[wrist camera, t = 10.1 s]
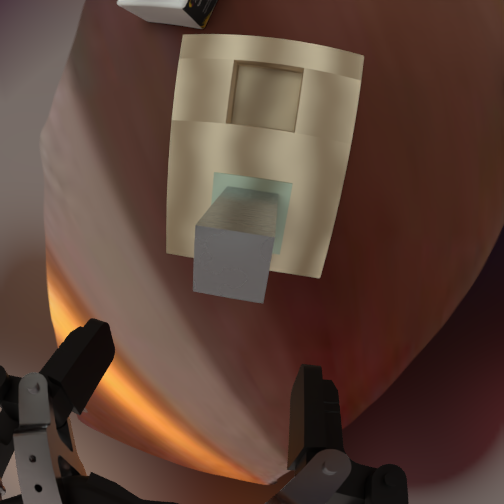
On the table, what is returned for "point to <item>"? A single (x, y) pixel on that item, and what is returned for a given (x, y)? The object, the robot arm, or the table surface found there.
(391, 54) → the table surface
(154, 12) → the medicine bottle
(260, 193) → the metal block
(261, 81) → the pocket board
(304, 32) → the table surface
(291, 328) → the table surface
